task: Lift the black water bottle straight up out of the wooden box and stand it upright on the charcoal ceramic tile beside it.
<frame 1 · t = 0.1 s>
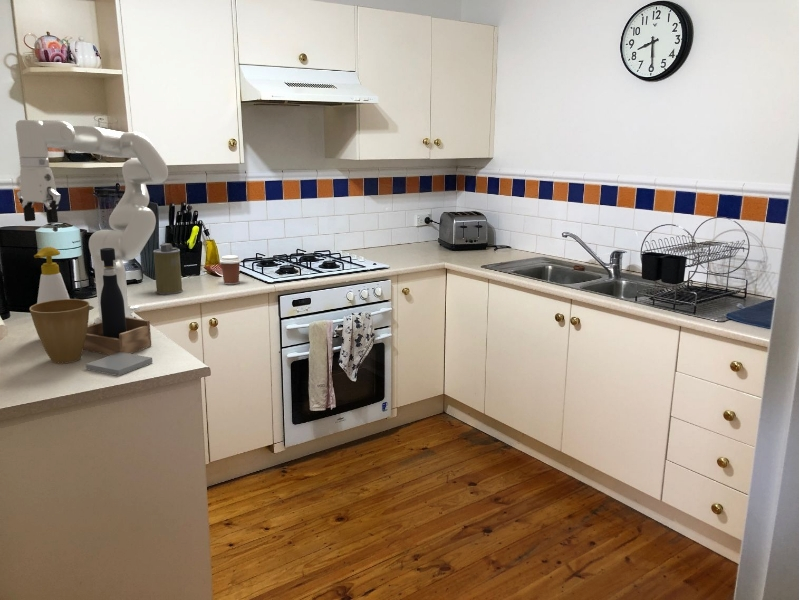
hand: (41, 221, 198), 37 cm above the worktop, tool pointing down, fingers open, 9 cm apart
soap bottle: (56, 340, 206), on the worktop
coffee cup: (231, 283, 292), on the worktop
plant pot: (66, 360, 187), on the worktop
black water bottle: (116, 348, 198), resting in wooden box
tile: (119, 365, 182), on the worktop
wooden box: (116, 347, 198), on the worktop
canister: (169, 292, 274), on the worktop
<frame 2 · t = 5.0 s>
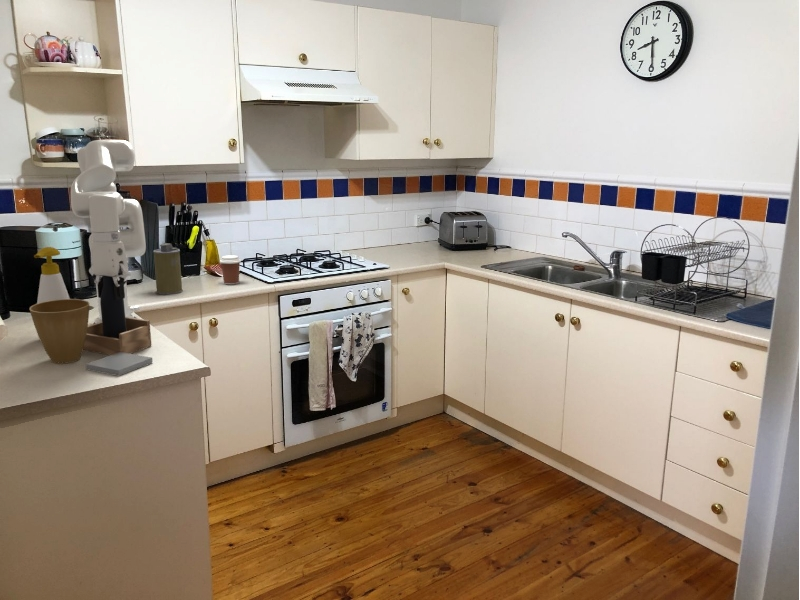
hand: (111, 297, 195), 16 cm above the worktop, tool pointing down, fingers closed on black water bottle, 5 cm apart
black water bottle: (116, 348, 198), resting in wooden box, touching gripper
everything else where it was.
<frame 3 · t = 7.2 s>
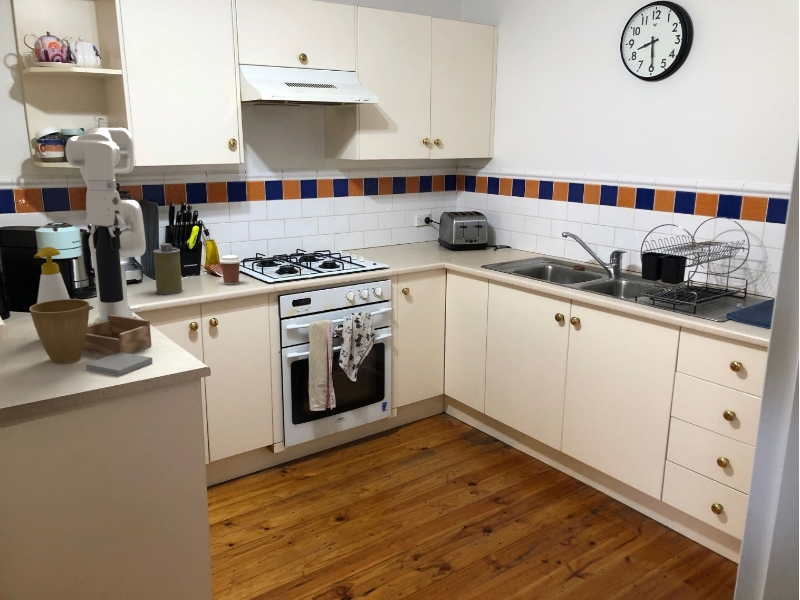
hand: (107, 248, 192), 30 cm above the worktop, tool pointing down, fingers closed on black water bottle, 5 cm apart
black water bottle: (112, 300, 196), point 14 cm above the worktop, touching gripper
everything else where it was.
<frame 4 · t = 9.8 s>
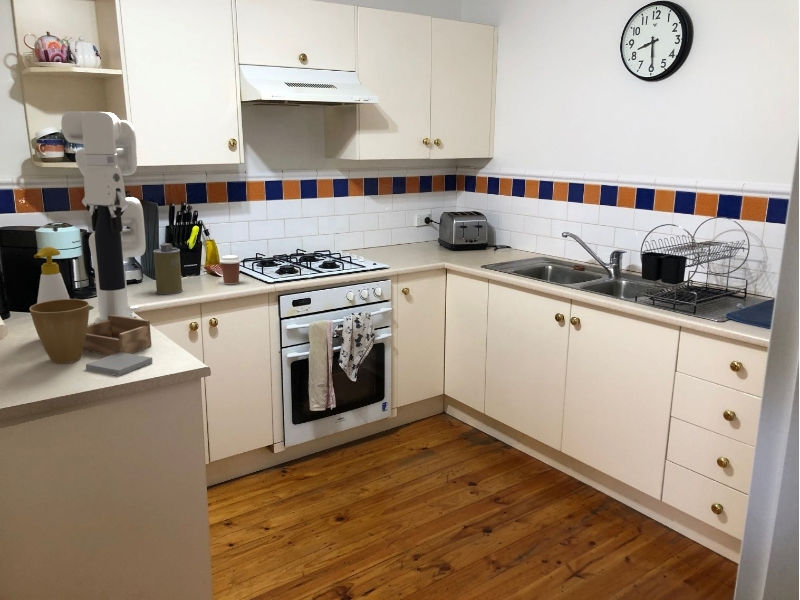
hand: (107, 230, 174), 37 cm above the worktop, tool pointing down, fingers closed on black water bottle, 5 cm apart
black water bottle: (112, 288, 177), point 22 cm above the worktop, touching gripper
everything else where it was.
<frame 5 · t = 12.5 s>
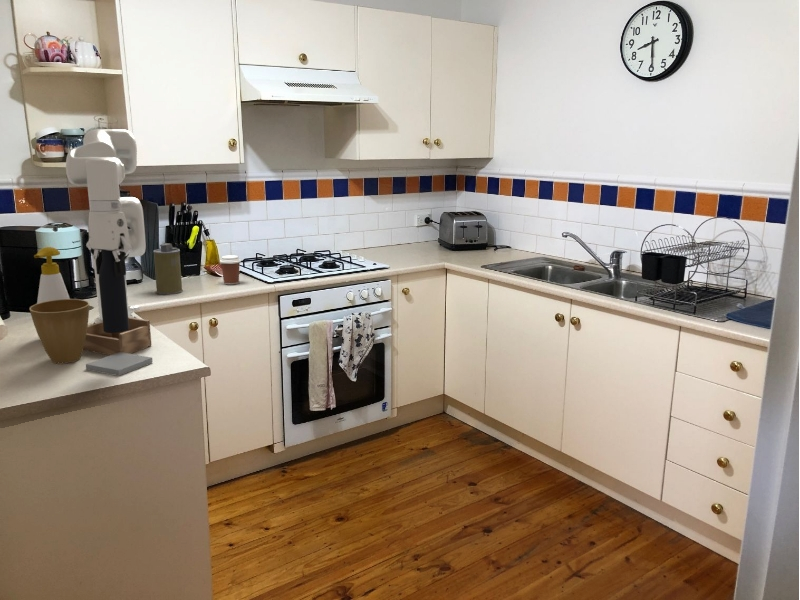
hand: (111, 274, 176), 26 cm above the worktop, tool pointing down, fingers closed on black water bottle, 5 cm apart
black water bottle: (116, 330, 180), point 10 cm above the worktop, touching gripper
everything else where it was.
when the fingers open (18 cm above the worktop, at t = 14.9 s): black water bottle drops 1 cm, resting on tile.
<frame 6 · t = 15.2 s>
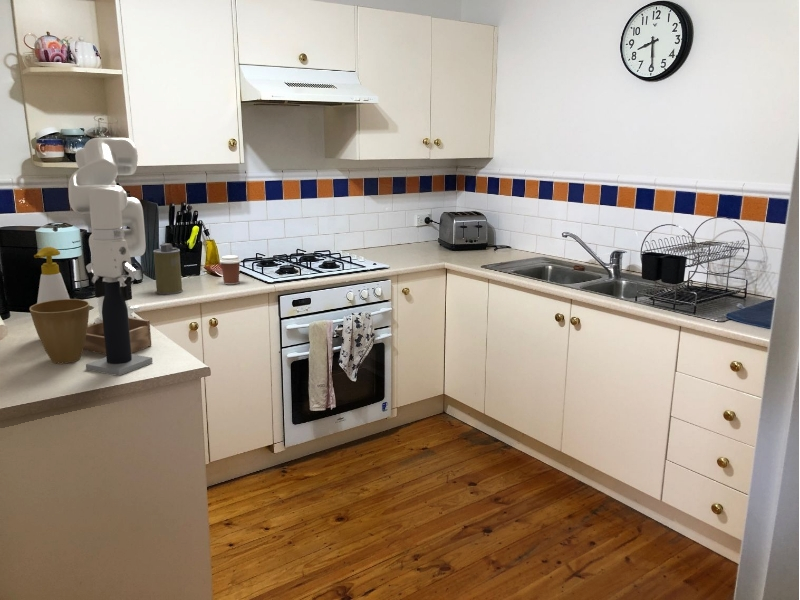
hand: (113, 298, 178), 19 cm above the worktop, tool pointing down, fingers open, 9 cm apart
black water bottle: (119, 361, 182), point 1 cm above the worktop, touching tile
everything else where it was.
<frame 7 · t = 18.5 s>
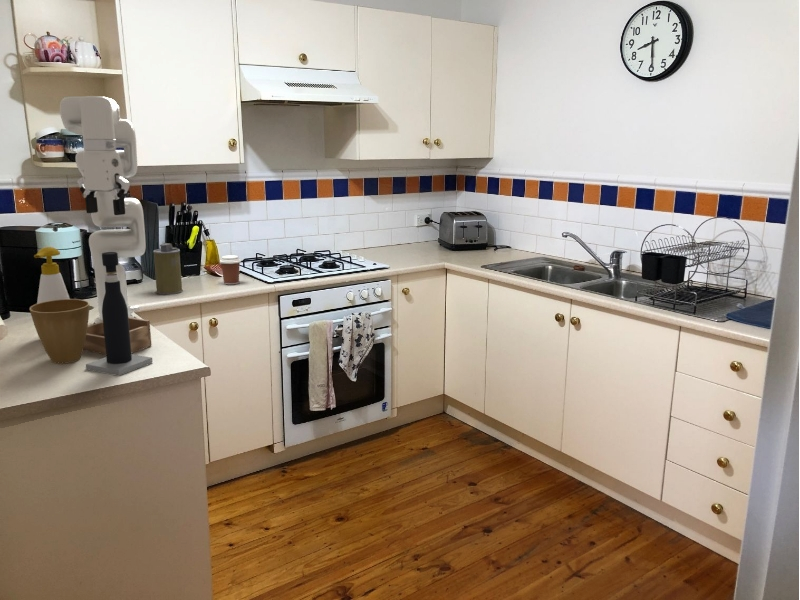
hand: (105, 213, 173), 42 cm above the worktop, tool pointing down, fingers open, 9 cm apart
nothing on the worktop moved.
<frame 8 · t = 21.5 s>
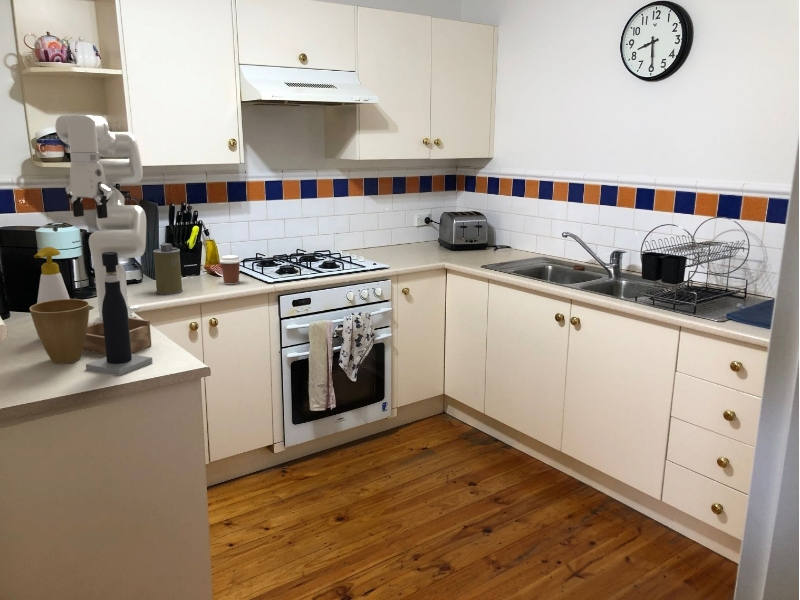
hand: (90, 217, 197), 38 cm above the worktop, tool pointing down, fingers open, 9 cm apart
nothing on the worktop moved.
at the end: black water bottle inside the target area on the tile (0.3 cm from its centre), point 1.3 cm above the tile's base; black water bottle tilted 0°; the gripper is holding nothing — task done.
